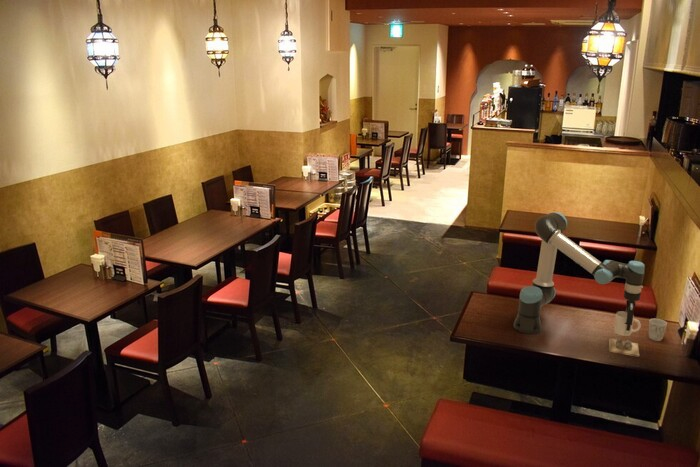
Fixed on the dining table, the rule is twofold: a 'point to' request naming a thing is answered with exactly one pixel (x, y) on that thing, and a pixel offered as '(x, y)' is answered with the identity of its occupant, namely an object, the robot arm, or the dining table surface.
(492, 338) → the dining table surface
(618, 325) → the mug
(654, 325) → the mug
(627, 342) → the peg stand
